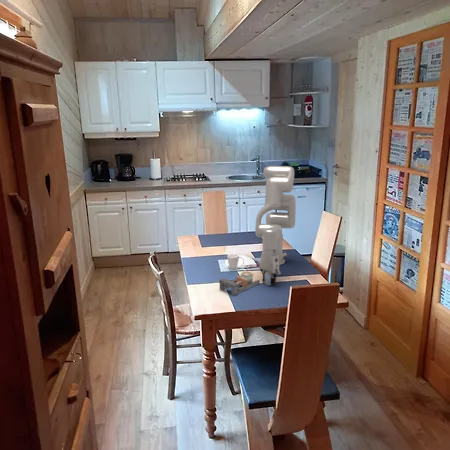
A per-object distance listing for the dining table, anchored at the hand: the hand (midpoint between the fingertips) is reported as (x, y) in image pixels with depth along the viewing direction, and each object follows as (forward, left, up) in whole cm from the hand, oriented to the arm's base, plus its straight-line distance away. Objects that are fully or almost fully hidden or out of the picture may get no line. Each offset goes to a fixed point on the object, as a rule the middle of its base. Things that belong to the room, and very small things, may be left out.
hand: (269, 282), depth 228 cm
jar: (0, 0, -1) cm, 1 cm away
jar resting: (+9, -9, -1) cm, 12 cm away
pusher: (+17, -8, 0) cm, 19 cm away
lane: (+14, -8, -1) cm, 16 cm away
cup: (-3, -29, -1) cm, 29 cm away
